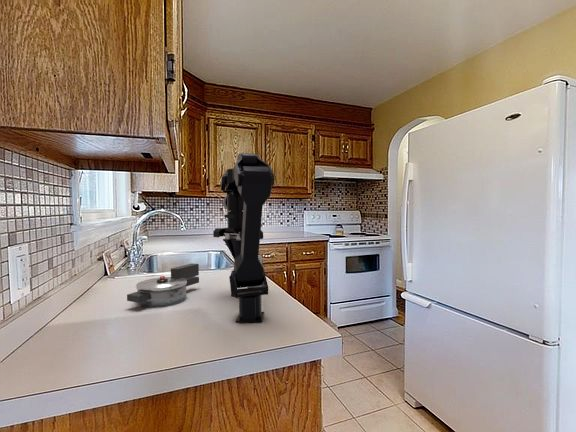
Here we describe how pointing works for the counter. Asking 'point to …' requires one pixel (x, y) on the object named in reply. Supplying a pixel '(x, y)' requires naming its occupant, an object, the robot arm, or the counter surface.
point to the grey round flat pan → (161, 296)
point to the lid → (170, 279)
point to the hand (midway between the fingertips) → (237, 261)
